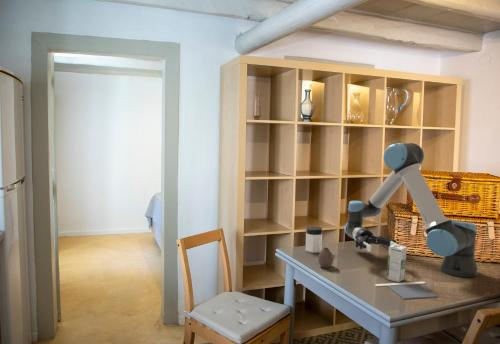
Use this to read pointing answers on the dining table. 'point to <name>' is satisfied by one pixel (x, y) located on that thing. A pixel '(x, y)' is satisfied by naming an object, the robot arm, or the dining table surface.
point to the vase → (325, 258)
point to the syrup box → (396, 263)
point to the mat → (411, 291)
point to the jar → (314, 239)
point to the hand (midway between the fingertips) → (384, 248)
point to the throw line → (400, 284)
